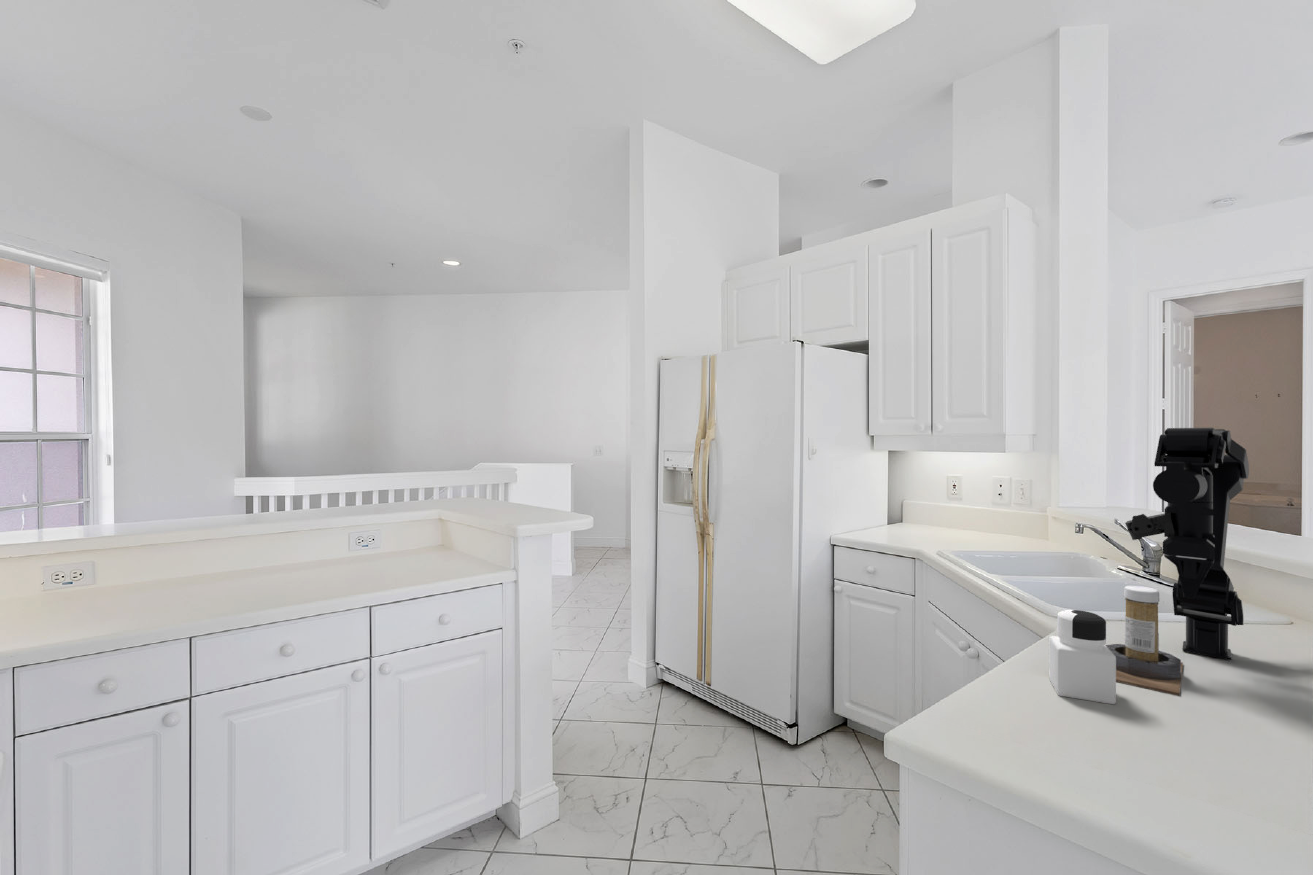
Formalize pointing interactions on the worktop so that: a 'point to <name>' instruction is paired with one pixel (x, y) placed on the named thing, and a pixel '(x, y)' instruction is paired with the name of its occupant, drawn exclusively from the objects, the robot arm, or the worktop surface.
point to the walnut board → (1151, 682)
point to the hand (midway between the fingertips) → (1189, 592)
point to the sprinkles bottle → (1141, 623)
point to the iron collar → (1147, 664)
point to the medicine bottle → (1082, 658)
